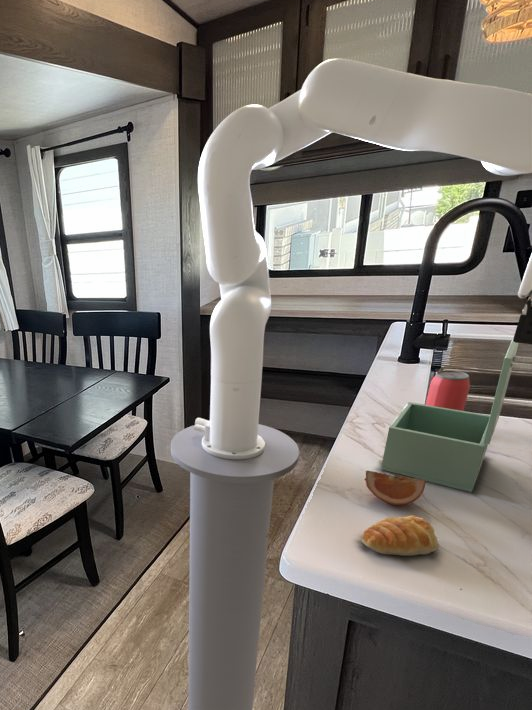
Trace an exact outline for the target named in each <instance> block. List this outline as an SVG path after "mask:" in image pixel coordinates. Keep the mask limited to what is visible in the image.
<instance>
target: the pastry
mask: <svg viewBox="0 0 532 710" xmlns="http://www.w3.org/2000/svg"><path fill="white" fill-rule="evenodd" d="M361 543H362V544H364V545H365V546H366V547H367V548H369V549H371V550H372V551H374V552H376V553H379V554H381V555H386V556H390V555H395V556H399V557H406V556H408V557H412V556H418V555H429V554H430V553H432V552H434V551H436V550H438V549H439V542H438V537H437V535H436V533H435V529H434V527H433V526H432V525H431V523H430V522H429V521H427V520H426V519H425V518H423V517H419V516H416V515H414V514H412V515H407V516H402V517H401V516H400V517H399V516H394V517H387V518H385V519H383V520H381V521H378V522H376V523H375V524H372V525H371V526H370V527H368V528H366V529H365V530H364V531H363V534H362V538H361Z"/></svg>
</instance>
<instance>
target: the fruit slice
mask: <svg viewBox="0 0 532 710" xmlns="http://www.w3.org/2000/svg"><path fill="white" fill-rule="evenodd" d="M364 481H365V486H366V488H367V489H368V491H369V492H370V493H372V495H374V496H375V497H376V498H377V499H379V500H381V501H382V502H385V503H387V504H390V505H394V506H406V505H409V504H410V505H411V504H412V503H414V502H416V501H417V500H418V499H419V498H420V497H421V496H422V495H423V493H424V490H425V487H426V481H425V480H422V479H417V478H413V477H409V476H405V475H400V474H397V473H395V474H394V475H391V474H386V473H383V472H377V471H374V470H373V471H372V470H366V471H365V478H364Z"/></svg>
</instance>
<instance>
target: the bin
mask: <svg viewBox="0 0 532 710" xmlns="http://www.w3.org/2000/svg"><path fill="white" fill-rule="evenodd" d="M489 418H490V414H485V413H479V412H478V413H477V412H471V411H466V410H464V411H460V410H454V409H448V408H442V407H436V406H430V405H426V404H423V403H417V402H411V401H408V402H407V404H406V405H405V406H404V407H403V409H402V410H401V411H400V413H399V414H398V415H397V417H396V418H395V419H394V421H393V422H392V423H391V424H390V426H389V427H388V432H387V435H386V441H385V446H384V452H383V457H382V460H381V467H380V470H382V471H386V472H390V473H393V474H397V475H400V476H405V477H408V478H416V479H422V480H425V482H429V483H433V484H437V485H441V486H445V487H449V488H453V489H456V490H460V491H464V492H468V493H473V490H474V488H475V485H476V483H477V479H478V477H479V474H480V471H481V468H482V464H483V462H484V459H485V456H486V453H487V449H488V446H489V444H484V443H483V442H484V438H485V434H486V430H487V426H488V422H489Z"/></svg>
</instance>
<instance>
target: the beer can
mask: <svg viewBox="0 0 532 710" xmlns="http://www.w3.org/2000/svg"><path fill="white" fill-rule="evenodd" d="M470 387H471V382H470V375H469V374H468V373H466V372H464V371H459V370H452V369H445V370H439V371H436V372H435V375H434V376H433V377H432V379H431V381H430V384H429V387H428V391H427V392H428V393H427V397H426V401H425V405H430V406H436V407H442V408H448V409H454V410H460V411H465V407H466V403H467V400H468V395H469V391H470Z"/></svg>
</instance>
